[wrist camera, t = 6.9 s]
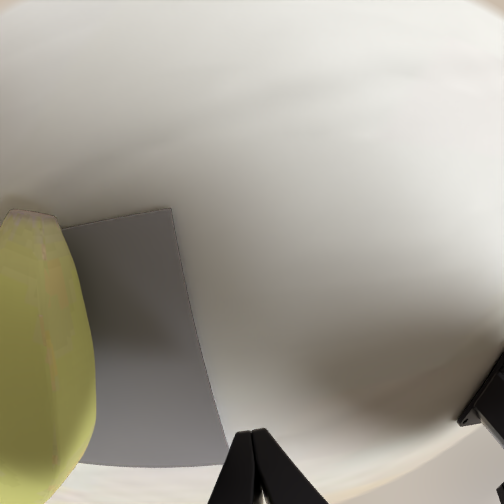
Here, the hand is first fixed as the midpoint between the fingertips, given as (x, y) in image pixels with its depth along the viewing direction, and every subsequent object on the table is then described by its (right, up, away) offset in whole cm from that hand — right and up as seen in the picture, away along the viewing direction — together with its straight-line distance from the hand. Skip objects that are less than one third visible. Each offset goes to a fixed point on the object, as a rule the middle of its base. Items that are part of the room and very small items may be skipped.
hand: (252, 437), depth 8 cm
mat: (-7, 0, +3) cm, 7 cm away
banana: (-15, 0, +2) cm, 15 cm away
